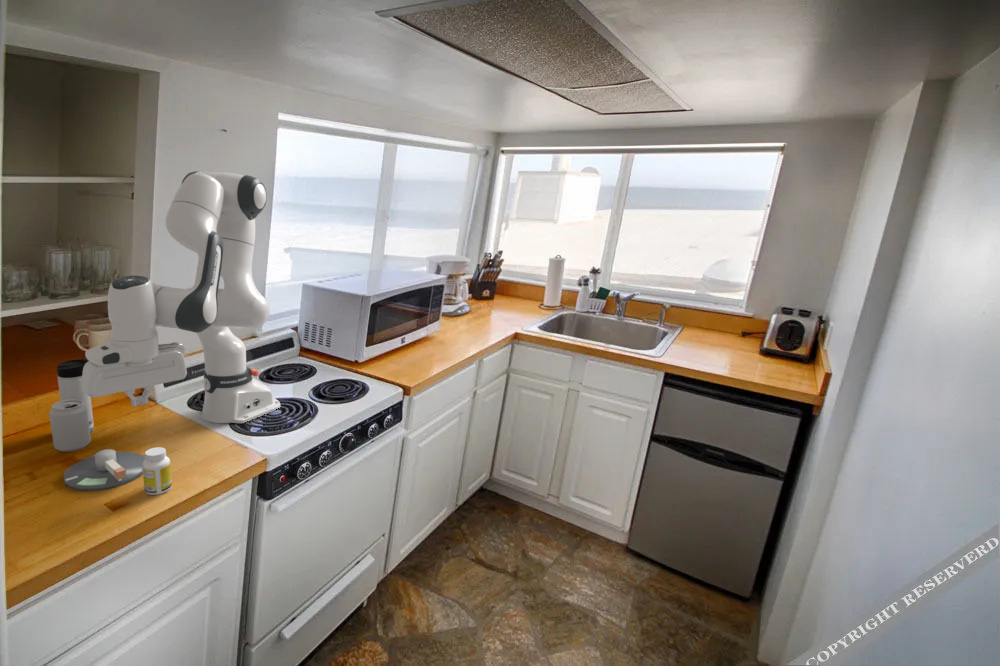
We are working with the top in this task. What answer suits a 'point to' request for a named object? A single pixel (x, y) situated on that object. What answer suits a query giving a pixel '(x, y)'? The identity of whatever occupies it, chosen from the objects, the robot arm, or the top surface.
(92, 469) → the dial plate
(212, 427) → the top surface
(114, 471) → the needle
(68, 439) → the can
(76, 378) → the travel mug
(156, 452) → the supplement bottle
